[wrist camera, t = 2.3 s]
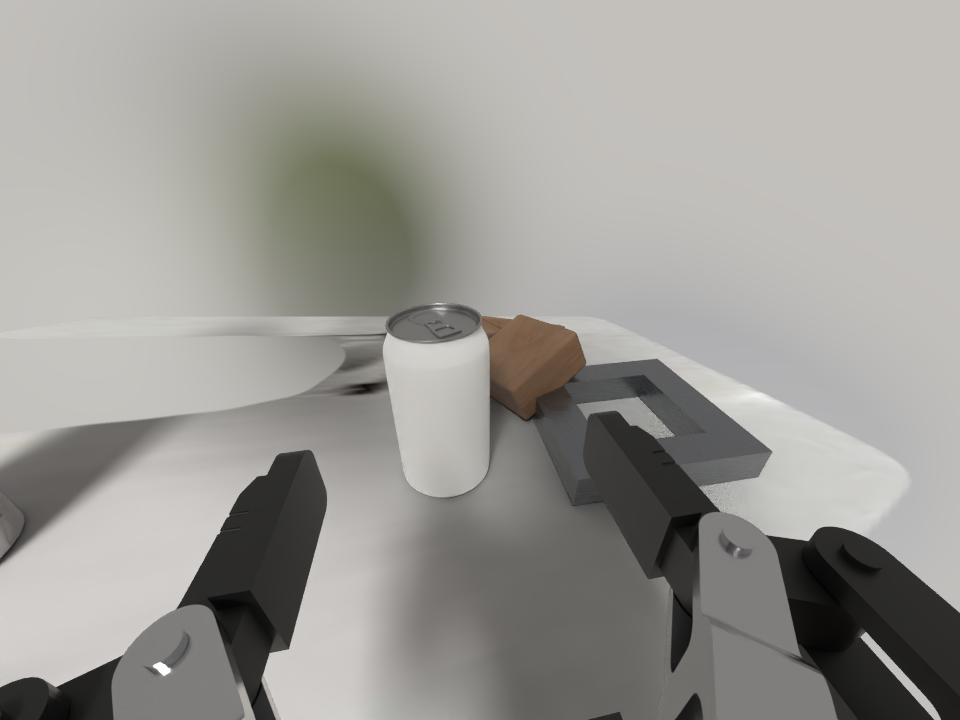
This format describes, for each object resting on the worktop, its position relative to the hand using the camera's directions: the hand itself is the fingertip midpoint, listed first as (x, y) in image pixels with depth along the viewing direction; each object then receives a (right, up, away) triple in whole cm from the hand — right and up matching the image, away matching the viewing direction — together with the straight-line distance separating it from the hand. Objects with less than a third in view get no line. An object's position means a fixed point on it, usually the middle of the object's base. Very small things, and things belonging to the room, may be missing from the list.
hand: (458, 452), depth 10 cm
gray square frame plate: (+13, -3, +19) cm, 23 cm away
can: (-2, -6, +16) cm, 17 cm away
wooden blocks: (+5, +1, +29) cm, 29 cm away
